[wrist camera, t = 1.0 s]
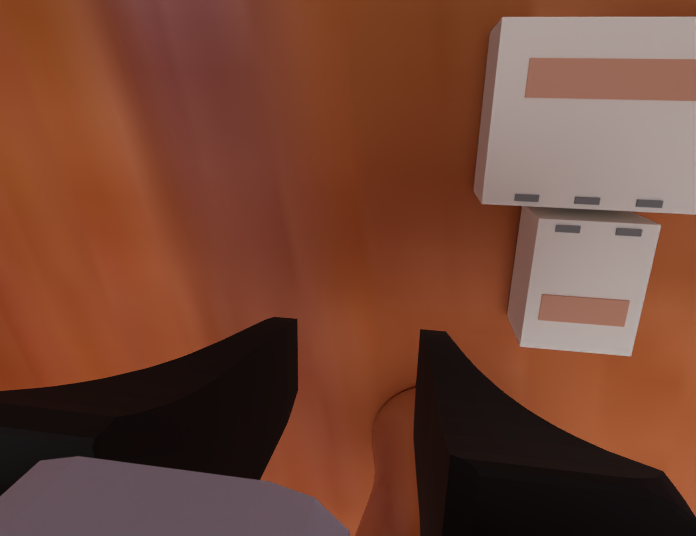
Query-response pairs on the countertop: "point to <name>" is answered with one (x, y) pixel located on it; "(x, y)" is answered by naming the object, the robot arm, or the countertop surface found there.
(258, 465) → the robot arm
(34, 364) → the countertop surface
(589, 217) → the stub
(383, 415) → the beer glass
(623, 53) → the white striped box
